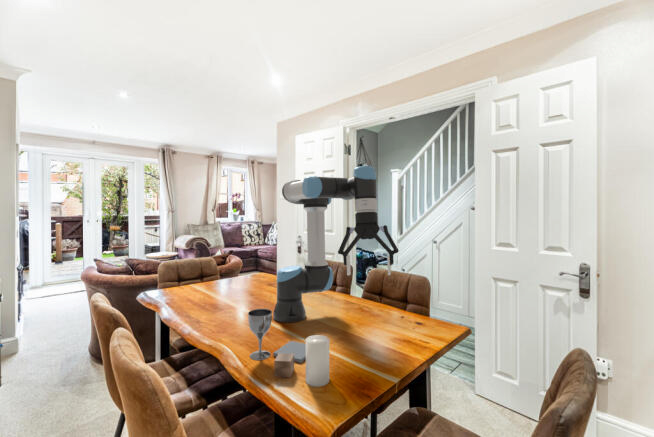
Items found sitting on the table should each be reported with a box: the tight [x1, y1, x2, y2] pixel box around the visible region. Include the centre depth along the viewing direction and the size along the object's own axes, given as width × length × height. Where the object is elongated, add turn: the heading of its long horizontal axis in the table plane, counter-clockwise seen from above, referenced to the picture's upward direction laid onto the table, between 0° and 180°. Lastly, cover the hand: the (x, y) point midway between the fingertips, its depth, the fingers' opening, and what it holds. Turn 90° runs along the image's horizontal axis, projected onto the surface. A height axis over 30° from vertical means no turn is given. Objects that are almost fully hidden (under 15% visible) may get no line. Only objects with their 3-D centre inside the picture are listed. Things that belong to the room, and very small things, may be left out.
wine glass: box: [247, 308, 273, 361], centre depth 106 cm, size 8×8×15 cm
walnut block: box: [273, 353, 295, 379], centre depth 95 cm, size 5×5×5 cm
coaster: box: [273, 340, 306, 364], centre depth 108 cm, size 11×11×1 cm
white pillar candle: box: [305, 334, 330, 388], centre depth 91 cm, size 7×7×12 cm
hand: (368, 274), depth 104 cm, fingers open, 13 cm apart
